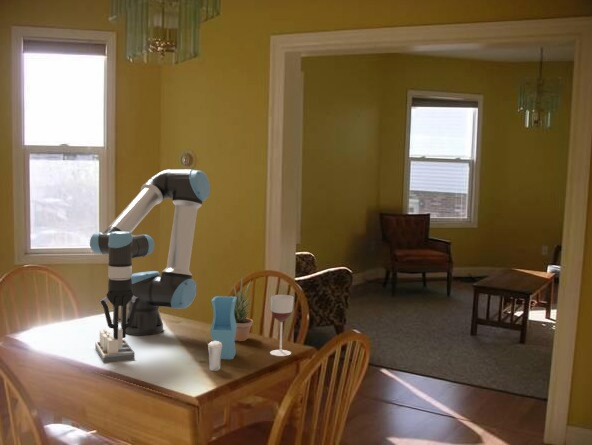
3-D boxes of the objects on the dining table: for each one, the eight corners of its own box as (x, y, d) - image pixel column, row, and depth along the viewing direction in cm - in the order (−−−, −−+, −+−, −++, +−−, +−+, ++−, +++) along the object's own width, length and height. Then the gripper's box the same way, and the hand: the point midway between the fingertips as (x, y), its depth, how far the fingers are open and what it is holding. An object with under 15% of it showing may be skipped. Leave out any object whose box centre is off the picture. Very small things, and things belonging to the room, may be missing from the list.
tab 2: (111, 347, 214) (111, 332, 214) (113, 350, 211) (113, 334, 210) (102, 347, 213) (102, 332, 212) (103, 351, 209) (104, 335, 209)
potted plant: (257, 340, 235) (258, 275, 233) (235, 343, 230) (237, 277, 228) (243, 334, 243) (244, 271, 241) (221, 337, 238) (223, 273, 236)
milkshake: (205, 367, 202) (206, 336, 201) (222, 367, 202) (222, 337, 201) (204, 371, 197) (205, 340, 196) (221, 371, 198) (222, 340, 197)
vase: (209, 358, 211) (211, 300, 209) (213, 351, 219) (215, 295, 217) (232, 359, 211) (234, 301, 209) (236, 352, 218) (237, 296, 217)
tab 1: (108, 343, 219) (108, 328, 218) (110, 346, 215) (110, 331, 215) (99, 344, 217) (99, 329, 217) (101, 346, 214) (101, 331, 214)
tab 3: (116, 351, 210) (116, 335, 209) (118, 354, 206) (118, 338, 206) (106, 351, 208) (107, 336, 208) (108, 355, 205) (109, 339, 205)
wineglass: (295, 350, 223) (296, 296, 221) (286, 357, 215) (288, 300, 213) (274, 348, 225) (276, 293, 224) (265, 354, 217) (267, 298, 216)
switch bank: (124, 345, 223) (124, 339, 222) (134, 359, 208) (134, 352, 207) (95, 348, 218) (95, 342, 218) (103, 362, 203) (103, 355, 203)
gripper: (137, 275, 213) (136, 343, 214) (97, 277, 207) (97, 346, 209) (142, 279, 206) (141, 348, 208) (101, 281, 200) (101, 352, 202)
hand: (119, 347), depth 208 cm, fingers closed
